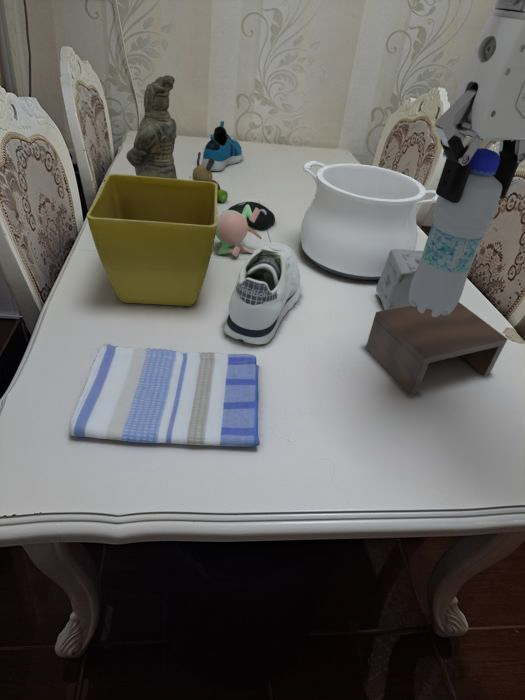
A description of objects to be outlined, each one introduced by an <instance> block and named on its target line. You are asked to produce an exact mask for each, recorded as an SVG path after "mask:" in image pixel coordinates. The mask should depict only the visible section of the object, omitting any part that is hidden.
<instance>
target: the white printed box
mask: <svg viewBox="0 0 525 700" xmlns="http://www.w3.org/2000/svg"><path fill="white" fill-rule="evenodd" d="M423 251H424V250H415V251H414V250H399V249H392V250H391V251H390V253H389V255H388V258H387V261H386V264H385V267H384V270H383V272H382V275H381V277H380V279H378V282H377V284H376V290H375V291H376V293H377V295H378V297H379V299H380V301H381V304H382V308H383V311H384V310H390V309H395V308H401V307H407V306H412V305H411V304H410V302H409V291H410V286H411V282H412V280H413V277H414V275H415V272H416V270H417V267H418V265H419V263H420V260H421V257H422V254H423Z"/></svg>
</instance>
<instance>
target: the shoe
mask: <svg viewBox="0 0 525 700" xmlns="http://www.w3.org/2000/svg"><path fill="white" fill-rule="evenodd" d="M224 126H225V121H224V120H220V124H219V126H216V127H215V128H214V131H213V133H212V134H210V136H209V137H210V140H209V141H207V143H206V145H205V147H204V149H203V153H202V161H201V165H206V166H207V163H208V161H209V158H211V157H212V158H213V159H214V160H215V163H214V165H213V167H212V168H211V172H223V170H224V169H225V168H226V167H227V166H230V165H236V164H239V163H240V162H241V161H242V159H243V150H242V145H241V144H240V142H239V141H238V140H236V139H232V138H231V136H230V135H229V134H228V133H227V130H226V128H225V127H224Z"/></svg>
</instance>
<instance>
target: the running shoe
mask: <svg viewBox="0 0 525 700" xmlns="http://www.w3.org/2000/svg"><path fill="white" fill-rule="evenodd" d="M252 252H253V253H251V255H250V256H249V257H248V258H247V259H246V260H245V262H244V264H243V265H242V266H241V268H240V272H239V274H238V277H237V279H236V282H235V286H234V290H233V291H232V293H231V295H230V300H229V305H228V306H229V307H228V312H229V313H228V316H227V319H226V321H225V324H224V326H223V327H224V328H223V332H224V333H225V334H226V335H228V336H229V337H231V338H233V339H236V340H243V342H244V343H247V344H251V345H252V344H253V345H265V344H268V343H270V341H271V340H272V339H273V338H274V337H275V335H276V333H277V330H278V329H279V327H280V323H281V322H282V320H283V318H284V317H286V315H288V311H290V310H292V309H293V307H294V305H296V304H297V302H298V301H299V299H300V297H301V285H300V281H301V274H300V267H299V263H298V259H297V257H296V254H295V253H294V251H293V250H292V249H291V248H290V247H289V246H288V245H287V244H285V243H283V242H279V241H271V242H268V243H266V244H264V245H263V246H260V247H258V248H257V249H255V250H254V251H252Z"/></svg>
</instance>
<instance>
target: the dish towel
mask: <svg viewBox="0 0 525 700" xmlns="http://www.w3.org/2000/svg"><path fill="white" fill-rule="evenodd" d="M97 352H98V353H97V354H96V356H95V358H94V361H93V363H92V366H91V368H90V370H89V374H88V376H87V380H86V383H85V384H84V387H83V390H82V391H81V394H80V396H79V398H78V401H77V403H76V406H75V409H74V411H73V414H72V416H71V419H70V422H69V428H68V432H69V433H70V435H71V436H73V437H79V438H81V437H84V438H85V437H86V438H93V439H102V440H112V441H113V440H114V441H122V442H130V443H142V444H143V443H144V444H178V445H188V446H219V447H258V446H260V437H259V398H260V397H259V393H260V392H259V369H260V366H259V365H258V364H257V361H258V360H257V356H256V355H254V354H250V353H216V352H215V353H214V352H198V353H191V352H190V353H189V352H180V351H176V350H173V349H165V348H163V349H162V348H150V347H148V348H139V347H138V348H136V347H135V348H134V347H122V346H115V345H112V344H110V343H107V344H102V345H101V346H98V347H97Z"/></svg>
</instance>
